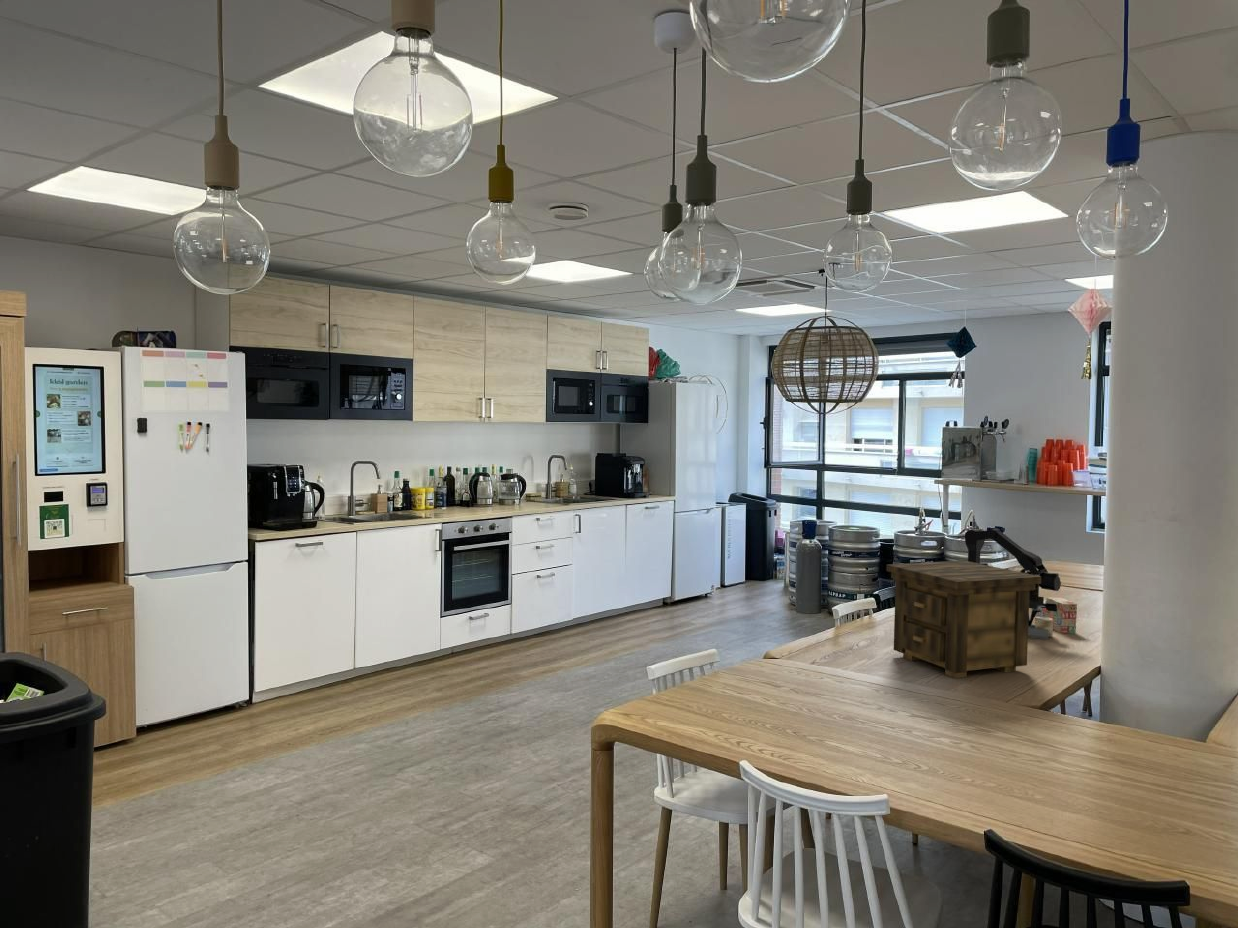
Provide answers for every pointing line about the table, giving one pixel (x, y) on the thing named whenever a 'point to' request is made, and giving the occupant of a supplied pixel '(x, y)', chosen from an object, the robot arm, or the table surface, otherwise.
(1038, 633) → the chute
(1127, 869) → the table surface
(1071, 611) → the stack of blocks
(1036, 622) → the block
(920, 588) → the wooden nightstand
